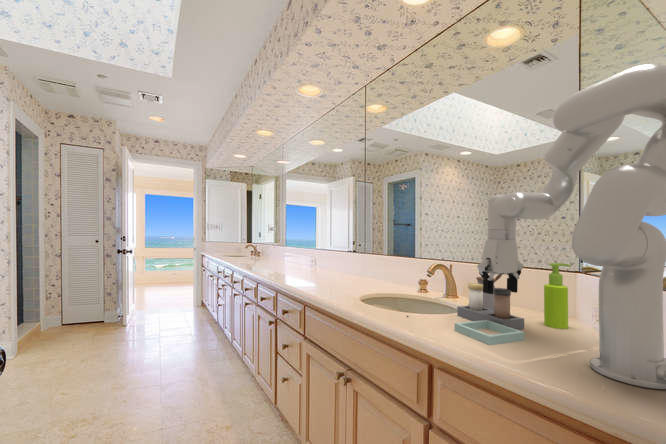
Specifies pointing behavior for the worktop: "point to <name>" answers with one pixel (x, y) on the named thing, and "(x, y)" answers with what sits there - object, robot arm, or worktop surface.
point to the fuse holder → (490, 317)
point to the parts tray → (505, 337)
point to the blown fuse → (502, 303)
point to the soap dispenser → (556, 300)
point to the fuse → (475, 296)
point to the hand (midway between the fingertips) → (500, 292)
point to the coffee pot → (488, 298)
